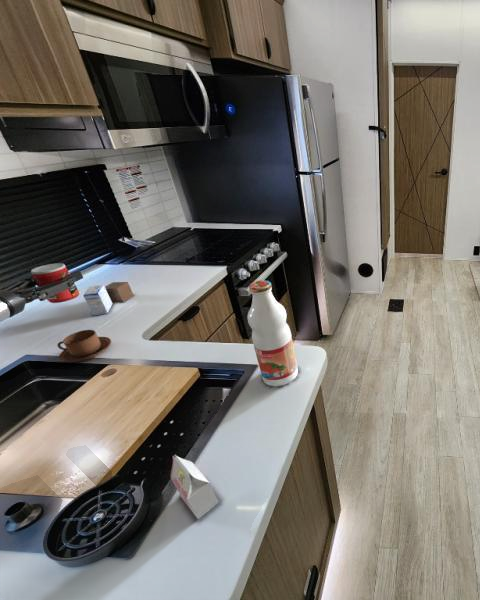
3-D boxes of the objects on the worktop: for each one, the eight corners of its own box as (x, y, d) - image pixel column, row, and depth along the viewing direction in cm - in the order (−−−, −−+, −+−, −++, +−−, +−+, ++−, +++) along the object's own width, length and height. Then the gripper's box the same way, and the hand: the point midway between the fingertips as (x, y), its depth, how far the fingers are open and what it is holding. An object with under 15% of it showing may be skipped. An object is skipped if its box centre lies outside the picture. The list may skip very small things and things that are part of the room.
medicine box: (99, 306, 126) (88, 286, 122) (113, 304, 128) (103, 284, 124) (93, 316, 120) (82, 295, 116) (108, 313, 122) (98, 292, 118)
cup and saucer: (59, 371, 93) (48, 353, 90) (65, 350, 102) (55, 334, 99) (112, 355, 99) (103, 339, 96) (114, 337, 108) (106, 321, 105)
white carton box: (201, 481, 64) (184, 447, 59) (218, 502, 61) (202, 467, 56) (181, 496, 62) (162, 462, 57) (198, 519, 58) (179, 484, 53)
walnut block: (107, 302, 129) (101, 288, 127) (118, 295, 135) (112, 282, 132) (123, 302, 130) (116, 288, 127) (133, 295, 135) (127, 281, 132)
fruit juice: (305, 373, 92) (288, 282, 79) (276, 392, 85) (252, 297, 72) (285, 360, 97) (266, 272, 84) (255, 377, 90) (230, 285, 77)
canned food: (80, 297, 110) (64, 267, 105) (48, 306, 105) (29, 274, 100) (79, 290, 115) (64, 261, 110) (48, 298, 110) (30, 267, 105)
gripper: (-33, 319, 93) (42, 285, 113) (41, 318, 93) (103, 283, 113) (-51, 296, 90) (30, 264, 110) (27, 294, 90) (93, 263, 110)
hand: (67, 274), depth 111 cm, fingers closed on canned food, 8 cm apart
